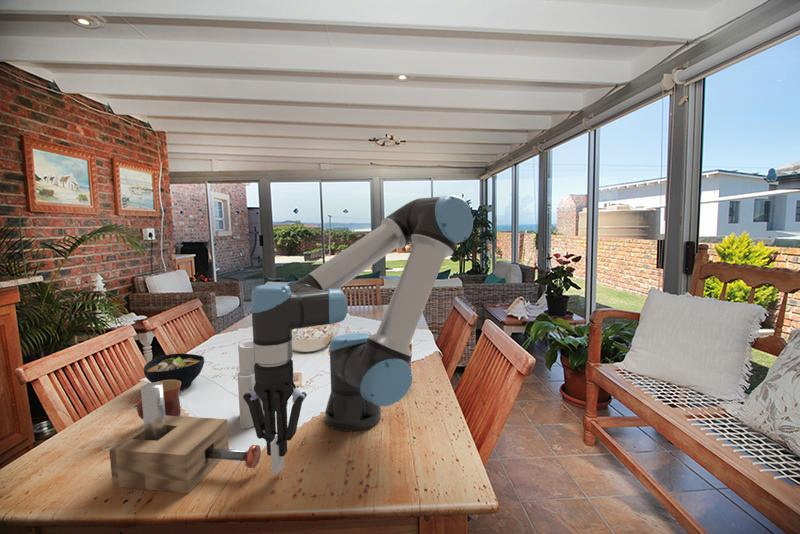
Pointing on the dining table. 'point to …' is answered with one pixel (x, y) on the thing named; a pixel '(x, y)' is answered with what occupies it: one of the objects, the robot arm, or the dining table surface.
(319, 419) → the dining table surface
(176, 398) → the mug
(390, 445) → the dining table surface
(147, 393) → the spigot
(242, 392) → the vase
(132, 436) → the dock
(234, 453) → the lock pin
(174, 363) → the bowl
